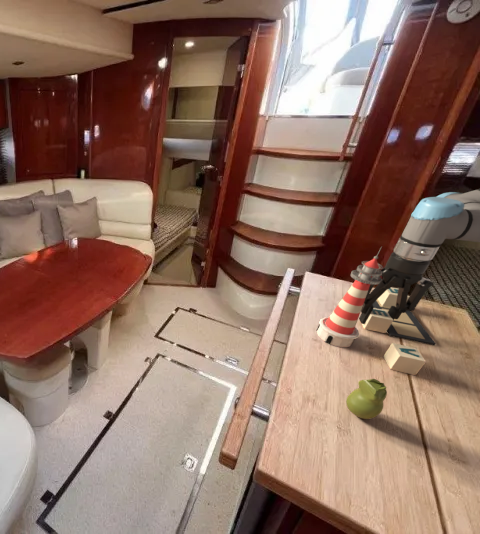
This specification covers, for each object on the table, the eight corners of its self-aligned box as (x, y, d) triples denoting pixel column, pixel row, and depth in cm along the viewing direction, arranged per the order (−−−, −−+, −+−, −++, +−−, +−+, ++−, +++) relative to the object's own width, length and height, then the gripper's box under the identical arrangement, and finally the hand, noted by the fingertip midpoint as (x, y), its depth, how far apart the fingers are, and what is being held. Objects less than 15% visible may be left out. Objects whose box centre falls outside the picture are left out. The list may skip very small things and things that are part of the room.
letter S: (395, 301, 103) (403, 288, 100) (401, 309, 99) (410, 296, 96) (376, 298, 105) (384, 285, 102) (382, 306, 101) (389, 293, 98)
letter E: (379, 323, 94) (387, 309, 92) (385, 333, 90) (393, 319, 88) (359, 319, 96) (366, 305, 94) (364, 328, 92) (371, 315, 90)
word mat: (401, 302, 103) (403, 300, 103) (434, 345, 86) (436, 343, 86) (365, 296, 107) (366, 294, 107) (389, 336, 90) (390, 333, 89)
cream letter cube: (406, 361, 81) (417, 347, 79) (415, 375, 77) (426, 361, 75) (383, 356, 83) (392, 342, 81) (390, 369, 79) (400, 355, 77)
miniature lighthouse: (348, 353, 84) (403, 259, 69) (310, 336, 90) (353, 245, 75) (357, 338, 89) (410, 247, 74) (320, 323, 95) (362, 235, 80)
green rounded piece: (379, 423, 67) (402, 394, 62) (355, 424, 67) (376, 394, 62) (358, 401, 71) (378, 372, 66) (336, 402, 71) (354, 372, 66)
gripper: (373, 256, 82) (340, 323, 93) (465, 268, 75) (417, 339, 86) (364, 245, 88) (334, 309, 99) (449, 255, 81) (406, 323, 92)
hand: (373, 323), depth 93 cm, fingers closed on letter E, 5 cm apart
